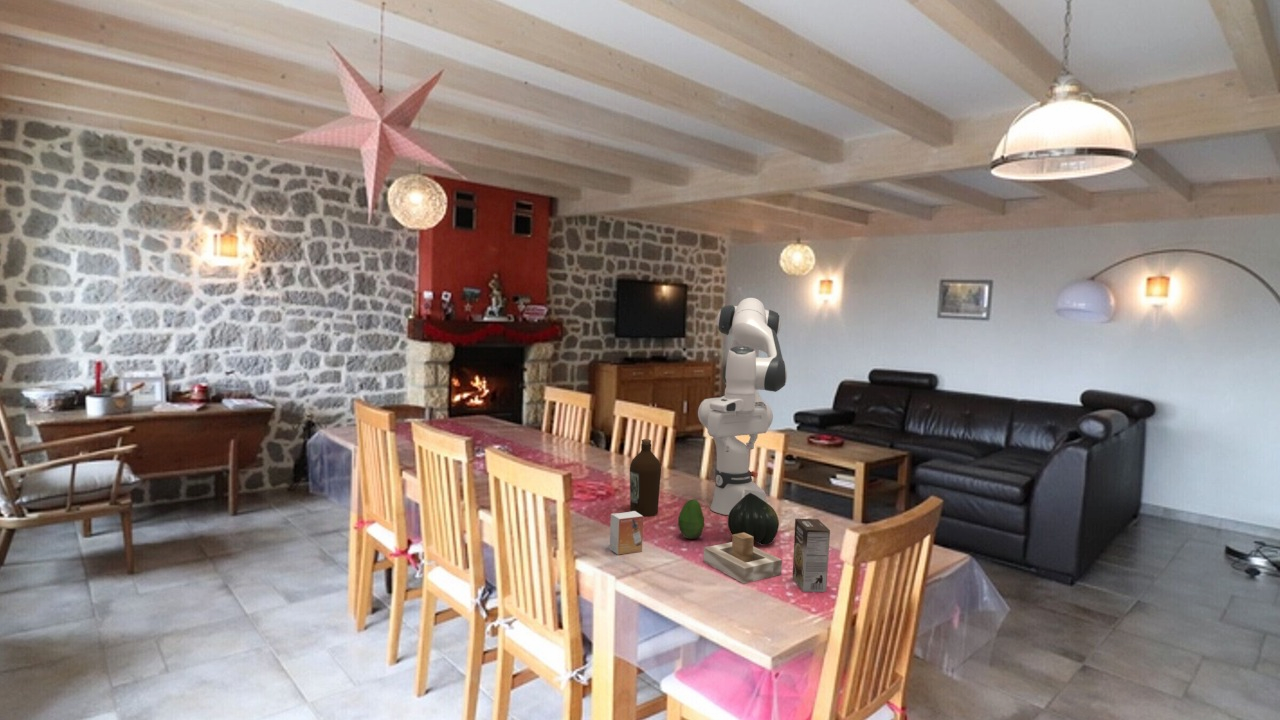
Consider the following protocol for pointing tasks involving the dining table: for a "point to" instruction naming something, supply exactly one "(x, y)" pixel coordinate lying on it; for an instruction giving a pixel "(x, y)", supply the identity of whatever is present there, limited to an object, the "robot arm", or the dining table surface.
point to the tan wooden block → (742, 546)
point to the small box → (626, 532)
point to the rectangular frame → (742, 563)
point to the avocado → (691, 519)
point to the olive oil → (645, 481)
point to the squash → (754, 519)
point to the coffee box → (811, 555)
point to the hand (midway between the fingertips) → (737, 450)
